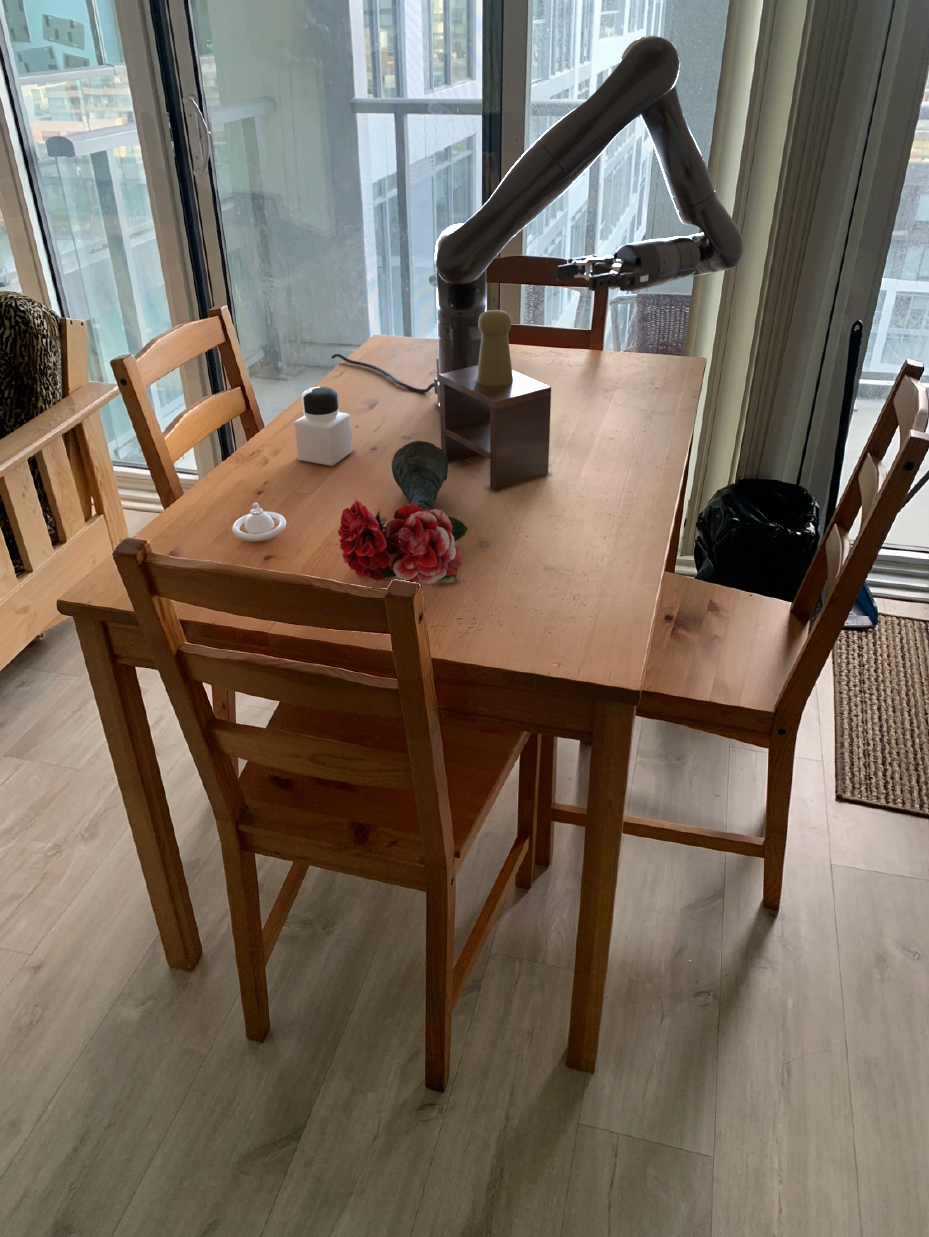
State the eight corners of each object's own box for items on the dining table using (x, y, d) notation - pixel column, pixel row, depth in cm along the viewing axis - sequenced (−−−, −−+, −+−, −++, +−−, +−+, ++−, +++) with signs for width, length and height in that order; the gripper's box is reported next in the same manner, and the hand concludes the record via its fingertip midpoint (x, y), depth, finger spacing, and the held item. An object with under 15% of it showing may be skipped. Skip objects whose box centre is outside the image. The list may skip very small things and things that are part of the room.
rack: (441, 459, 164) (438, 374, 155) (492, 444, 169) (492, 361, 160) (495, 491, 152) (496, 401, 144) (548, 474, 158) (551, 386, 149)
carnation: (414, 536, 156) (420, 646, 126) (323, 471, 149) (306, 571, 119) (474, 466, 151) (496, 563, 120) (383, 395, 144) (382, 480, 114)
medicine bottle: (353, 451, 167) (348, 386, 160) (332, 467, 162) (325, 400, 155) (319, 445, 170) (312, 381, 163) (297, 460, 164) (289, 394, 158)
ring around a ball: (298, 536, 140) (269, 518, 145) (293, 502, 137) (263, 485, 142) (253, 556, 136) (224, 537, 141) (246, 521, 133) (217, 503, 138)
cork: (474, 375, 155) (473, 307, 149) (510, 373, 155) (511, 305, 149) (478, 387, 150) (477, 317, 143) (515, 385, 150) (516, 316, 144)
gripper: (619, 234, 162) (545, 246, 154) (679, 248, 152) (604, 262, 144) (615, 279, 166) (544, 293, 158) (674, 296, 156) (600, 312, 148)
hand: (572, 278), depth 151 cm, fingers open, 8 cm apart
